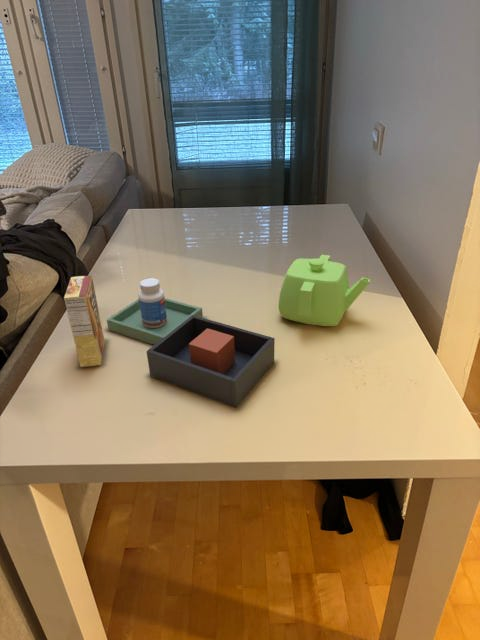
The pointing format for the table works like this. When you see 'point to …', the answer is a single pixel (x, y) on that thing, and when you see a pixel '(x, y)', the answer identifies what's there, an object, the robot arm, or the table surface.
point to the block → (213, 351)
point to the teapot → (317, 291)
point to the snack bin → (229, 388)
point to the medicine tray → (132, 326)
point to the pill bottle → (152, 303)
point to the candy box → (85, 320)
